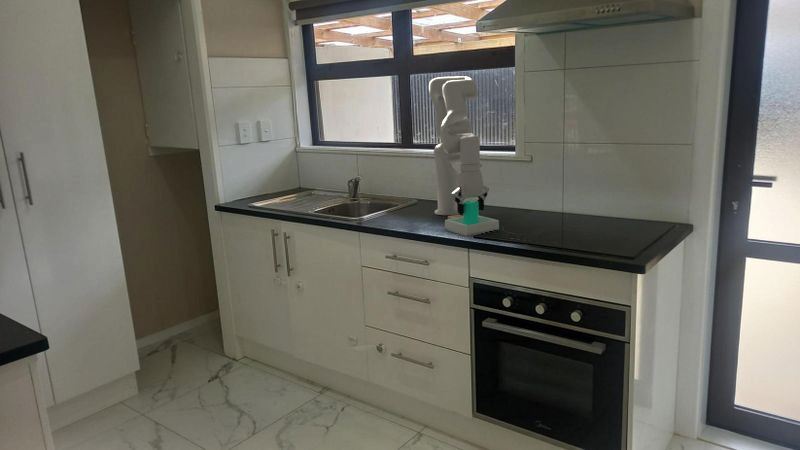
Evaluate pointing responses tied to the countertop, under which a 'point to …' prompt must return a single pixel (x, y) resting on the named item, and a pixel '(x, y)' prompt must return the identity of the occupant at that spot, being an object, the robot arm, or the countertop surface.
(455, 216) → the oak block
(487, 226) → the bin
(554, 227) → the countertop surface
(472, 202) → the candle
